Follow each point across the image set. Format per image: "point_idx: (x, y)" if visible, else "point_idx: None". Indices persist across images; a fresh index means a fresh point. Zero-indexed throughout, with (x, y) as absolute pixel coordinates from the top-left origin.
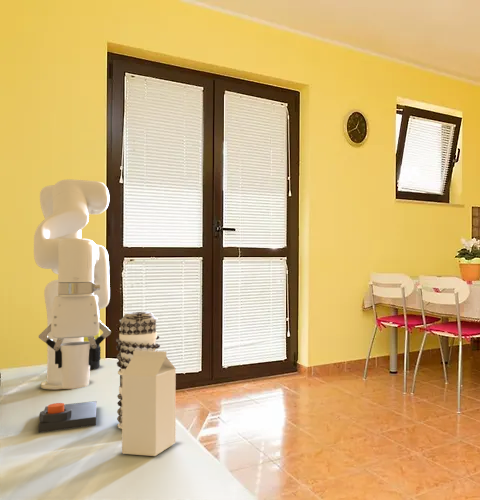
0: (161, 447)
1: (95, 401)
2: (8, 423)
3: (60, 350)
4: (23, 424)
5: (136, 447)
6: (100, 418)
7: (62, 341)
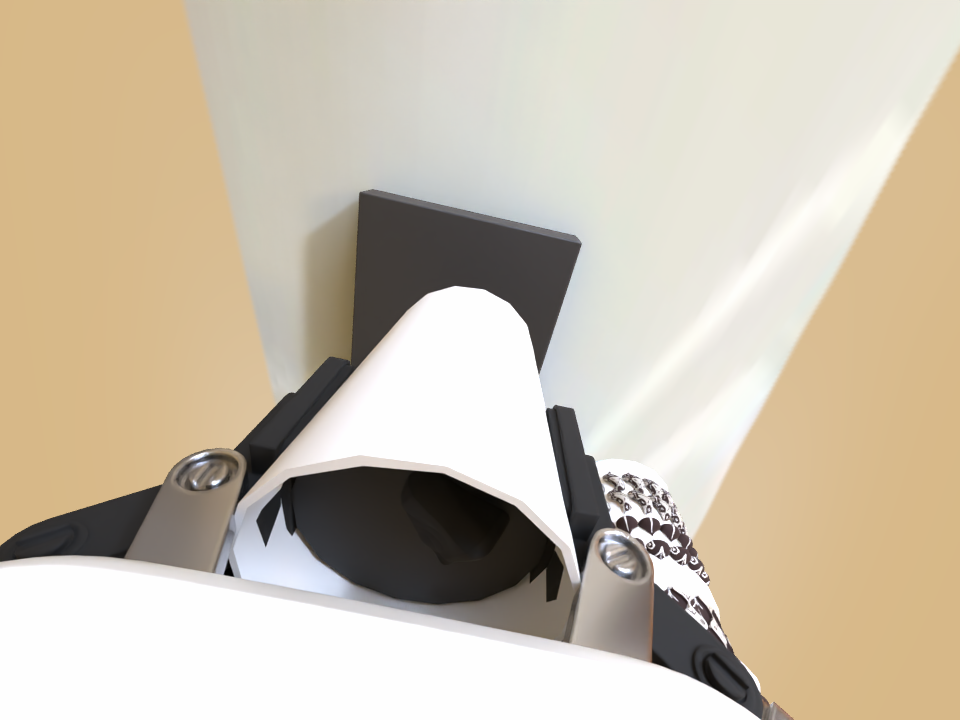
0: None
1: (574, 252)
2: (247, 237)
3: (275, 536)
4: (303, 290)
5: None
6: (543, 386)
7: (225, 562)
